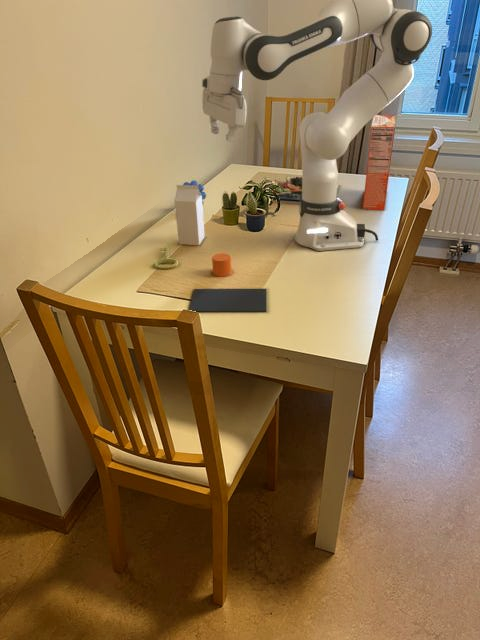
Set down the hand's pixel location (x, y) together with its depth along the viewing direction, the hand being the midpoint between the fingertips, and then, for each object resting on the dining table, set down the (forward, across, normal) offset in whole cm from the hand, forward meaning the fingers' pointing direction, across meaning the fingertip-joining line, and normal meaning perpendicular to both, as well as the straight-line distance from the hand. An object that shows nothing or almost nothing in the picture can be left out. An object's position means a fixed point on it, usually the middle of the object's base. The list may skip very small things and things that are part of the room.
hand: (222, 137), depth 145 cm
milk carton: (+36, +10, +4) cm, 38 cm away
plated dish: (+32, +34, -54) cm, 72 cm away
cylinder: (+35, -17, +6) cm, 39 cm away
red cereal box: (+29, +9, -75) cm, 81 cm away
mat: (+34, -33, +13) cm, 49 cm away
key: (+37, -1, +17) cm, 41 cm away
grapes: (+37, +38, -10) cm, 54 cm away
